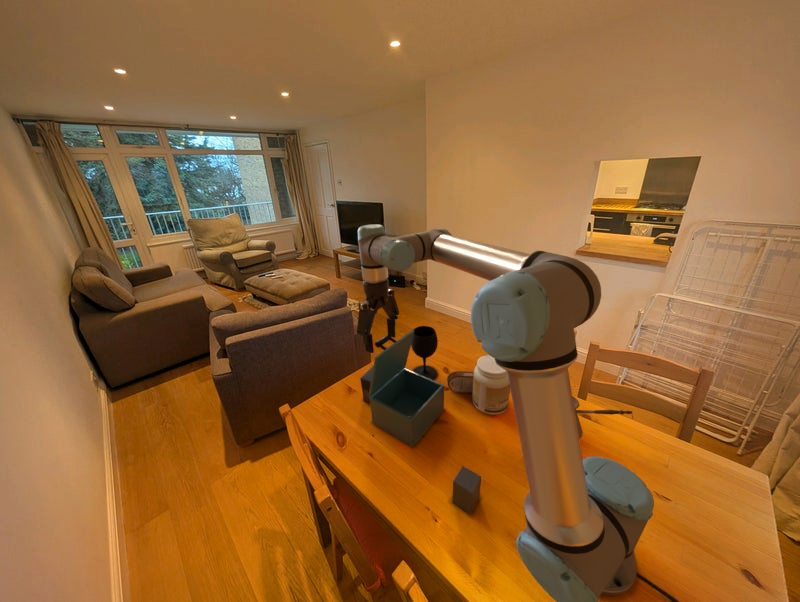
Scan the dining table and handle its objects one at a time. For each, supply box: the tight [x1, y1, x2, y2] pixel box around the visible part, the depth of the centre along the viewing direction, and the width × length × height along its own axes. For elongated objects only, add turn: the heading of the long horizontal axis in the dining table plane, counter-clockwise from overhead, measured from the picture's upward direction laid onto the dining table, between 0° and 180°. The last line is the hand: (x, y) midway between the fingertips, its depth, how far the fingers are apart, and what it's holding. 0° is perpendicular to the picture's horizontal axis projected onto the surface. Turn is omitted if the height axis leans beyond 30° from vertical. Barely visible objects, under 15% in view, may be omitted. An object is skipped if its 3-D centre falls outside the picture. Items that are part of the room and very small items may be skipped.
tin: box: [446, 370, 474, 394], centre depth 107 cm, size 15×3×8 cm, turn 84°
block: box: [452, 465, 482, 516], centre depth 72 cm, size 5×5×8 cm
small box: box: [359, 364, 374, 404], centre depth 108 cm, size 11×6×10 cm, turn 149°
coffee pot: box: [572, 395, 634, 440], centre depth 85 cm, size 21×12×15 cm, turn 61°
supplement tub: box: [471, 354, 511, 416], centre depth 100 cm, size 12×12×17 cm
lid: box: [369, 329, 414, 397], centre depth 96 cm, size 17×19×6 cm
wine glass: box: [410, 325, 439, 381], centre depth 116 cm, size 10×10×20 cm
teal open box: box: [369, 367, 445, 448], centre depth 97 cm, size 17×19×11 cm
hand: (381, 343), depth 95 cm, fingers open, 10 cm apart
